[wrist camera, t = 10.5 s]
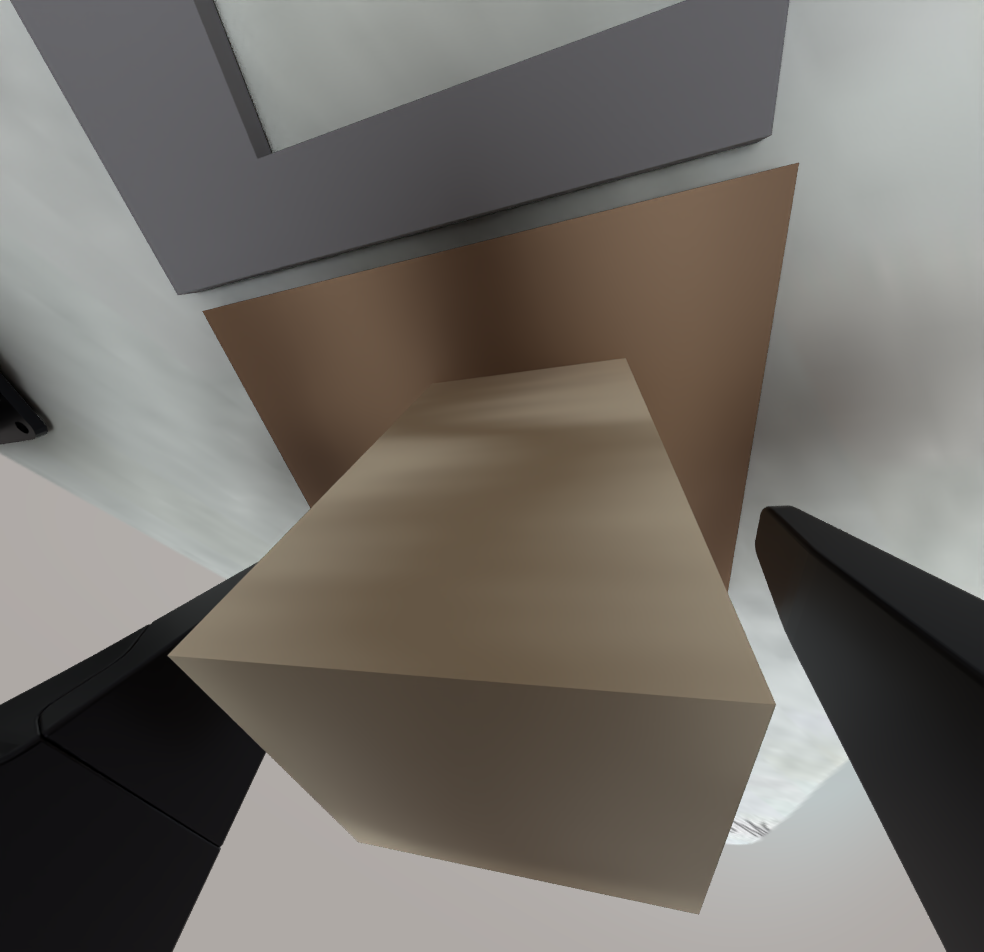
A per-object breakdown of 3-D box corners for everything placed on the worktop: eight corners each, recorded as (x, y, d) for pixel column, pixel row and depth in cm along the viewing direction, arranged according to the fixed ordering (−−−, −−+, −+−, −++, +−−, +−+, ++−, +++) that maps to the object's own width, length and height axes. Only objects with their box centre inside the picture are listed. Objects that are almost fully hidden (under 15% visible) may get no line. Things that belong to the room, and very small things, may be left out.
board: (369, 593, 17) (363, 604, 16) (219, 307, 11) (202, 311, 10) (718, 596, 13) (724, 610, 13) (783, 167, 7) (799, 162, 7)
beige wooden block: (470, 526, 13) (358, 842, 6) (432, 383, 10) (167, 655, 4) (626, 521, 11) (699, 915, 5) (625, 357, 9) (776, 704, 2)
